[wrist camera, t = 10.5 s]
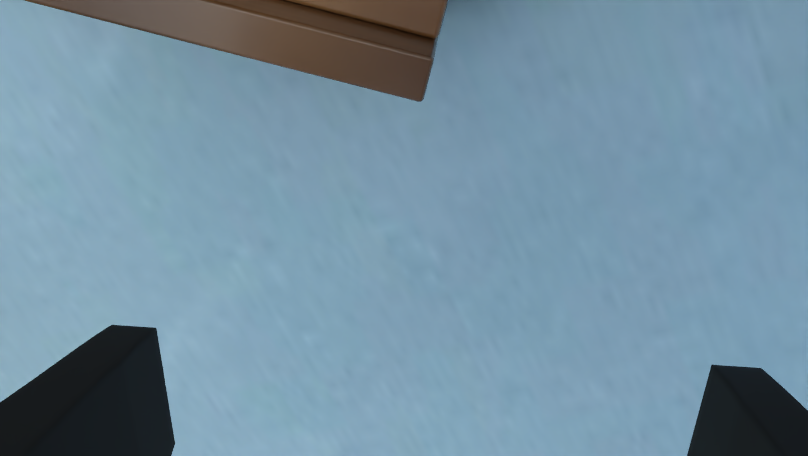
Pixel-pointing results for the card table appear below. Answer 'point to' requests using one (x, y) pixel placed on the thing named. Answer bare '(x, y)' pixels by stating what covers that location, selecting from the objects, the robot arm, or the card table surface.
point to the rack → (297, 34)
